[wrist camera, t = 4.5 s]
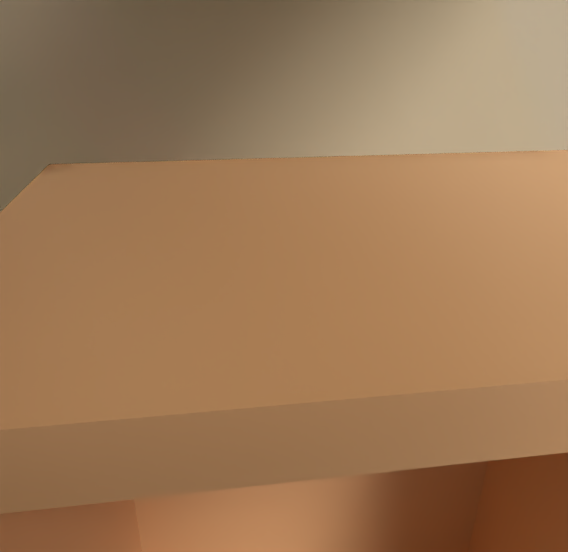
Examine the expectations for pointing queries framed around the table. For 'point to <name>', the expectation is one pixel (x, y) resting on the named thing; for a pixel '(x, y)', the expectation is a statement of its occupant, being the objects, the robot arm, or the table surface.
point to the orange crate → (287, 355)
